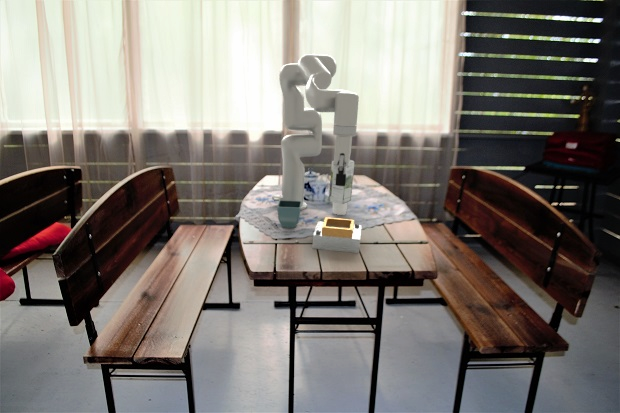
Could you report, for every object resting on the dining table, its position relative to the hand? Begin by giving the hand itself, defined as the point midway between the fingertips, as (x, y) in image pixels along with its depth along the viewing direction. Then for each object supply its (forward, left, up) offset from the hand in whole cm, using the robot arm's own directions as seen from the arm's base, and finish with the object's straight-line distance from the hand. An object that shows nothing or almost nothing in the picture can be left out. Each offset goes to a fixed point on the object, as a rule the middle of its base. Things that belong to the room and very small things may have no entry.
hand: (341, 182), depth 153 cm
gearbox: (0, 0, -22) cm, 22 cm away
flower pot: (-20, +13, -23) cm, 33 cm away
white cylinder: (-2, +34, -23) cm, 41 cm away
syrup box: (0, 0, -7) cm, 7 cm away
